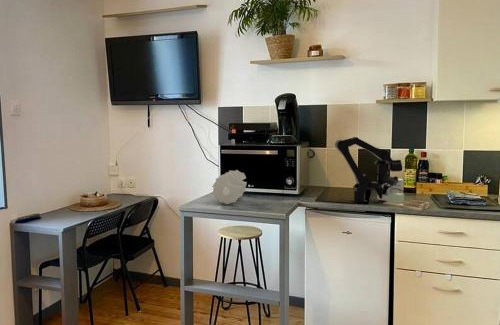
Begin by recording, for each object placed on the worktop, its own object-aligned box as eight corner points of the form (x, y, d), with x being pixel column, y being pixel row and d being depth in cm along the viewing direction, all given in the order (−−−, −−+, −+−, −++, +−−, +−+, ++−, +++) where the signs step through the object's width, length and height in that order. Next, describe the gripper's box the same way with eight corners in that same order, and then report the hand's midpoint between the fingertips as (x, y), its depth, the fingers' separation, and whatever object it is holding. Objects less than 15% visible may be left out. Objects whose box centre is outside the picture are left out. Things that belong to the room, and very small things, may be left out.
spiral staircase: (219, 211, 223) (228, 200, 247) (246, 199, 219) (252, 189, 243) (204, 183, 221) (215, 175, 246) (231, 170, 217) (239, 163, 242)
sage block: (399, 203, 216) (399, 194, 215) (375, 199, 227) (376, 191, 226) (404, 202, 219) (404, 193, 218) (380, 198, 230) (380, 190, 230)
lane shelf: (419, 210, 204) (420, 205, 203) (383, 204, 220) (383, 199, 219) (430, 207, 211) (430, 202, 211) (394, 201, 227) (394, 196, 227)
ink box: (386, 197, 237) (387, 178, 235) (387, 196, 241) (388, 177, 240) (401, 199, 233) (402, 179, 231) (402, 197, 237) (403, 178, 236)
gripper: (386, 174, 213) (386, 202, 215) (404, 171, 225) (403, 197, 226) (369, 172, 221) (368, 199, 223) (386, 169, 233) (385, 195, 235)
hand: (382, 198), depth 227 cm, fingers closed on sage block, 2 cm apart
